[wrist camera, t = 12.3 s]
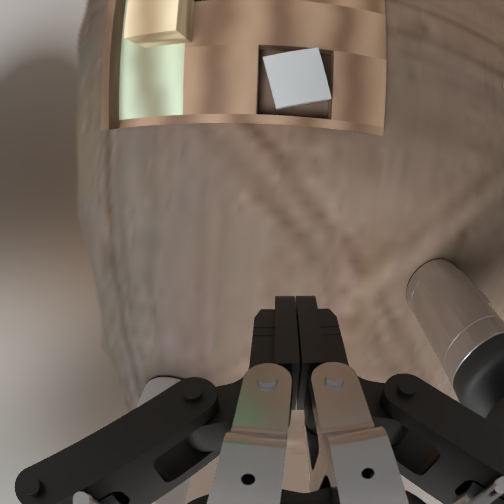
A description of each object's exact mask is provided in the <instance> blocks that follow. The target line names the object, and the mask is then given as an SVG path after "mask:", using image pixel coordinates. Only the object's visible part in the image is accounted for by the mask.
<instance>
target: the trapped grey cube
mask: <svg viewBox="0 0 504 504" xmlns="http://www.w3.org/2000/svg"><path fill="white" fill-rule="evenodd" d="M263 61H264V66H265V69H266V73H267V77H268V81H269V84H270V88H271V92H272V96H273V100H274V104H275V108H276V110H280V109H285V108H290V107H295V106H301V105H307V104H313V103H319V102H324V101H327V100H329V99H332V98H331V94H330V90H329V86H328V82H327V78H326V74H325V70H324V66H323V63H322V59H321V55H320V52H319V48H310V49H303V50H297V51H291V52H285V53H280V54H275V55H270V56H265V57H263Z"/></svg>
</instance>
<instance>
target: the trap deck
mask: <svg viewBox="0 0 504 504" xmlns="http://www.w3.org/2000/svg"><path fill="white" fill-rule="evenodd" d="M127 3H128V0H109V1H108V8H107V16H106V25H105V35H104V46H103V61H102V85H101V127H102V130H109V129H116V128H125V127H136V126H148V125H163V124H183V123H261V124H281V125H296V126H309V127H319V128H329V129H338V130H346V131H354V132H361V133H368V134H375V135H381V136H383V129H384V115H385V97H386V15H385V0H209V1H198V2H194V11H193V24H192V39H191V43H180V44H171V45H162V46H155V47H148V48H144V47H142V46H140V45H137V44H135V43H133V42H131V41H128V40H126V39H124V29H125V19H126V11H127ZM310 48H319V52H320V54H326V55H330V78H329V90H330V94H331V98H332V99H329V103H328V119H320V118H310V117H297V116H283V115H263V114H258V85H259V55H260V50H280V51H297V50H303V49H310Z"/></svg>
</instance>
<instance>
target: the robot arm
mask: <svg viewBox="0 0 504 504" xmlns="http://www.w3.org/2000/svg"><path fill="white" fill-rule="evenodd" d="M406 298H407V301H408V304H409V305H410V307H411V309H412V310H413V312H414V314H415V316H416V318H417V320H418V321H419V323H420V325H421V327H422V328H423V330H424V332H425V334H426V336H427V338H428V339H429V341H430V343H431V345H432V347H433V349H434V351H435V353H436V354H437V356H438V358H439V360H440V362H441V364H442V366H443V368H444V370H445V372H446V374H447V376H448V378H449V380H450V382H451V384H452V386H453V388H454V390H455V393H456V395H457V397H458V399H459V401H460V403H461V404H460V403H459V402H457V401H455V400H454V399H452V398H451V397H449V396H447V395H446V394H444V393H442V392H441V391H439V390H437V389H436V388H434V387H433V386H431V385H429V384H428V383H426V382H425V381H423V380H421V379H420V378H418V377H416V376H414V375H411V374H397V375H394V376H392V377H391V378H389V379H388V380H387V382H386V383H379V382H373V381H368V380H365V379H362V378H360V377H358V376H357V374H356V372H355V371H354V370H353V369H352V368H351V367H350V366H349V364H348V360H347V356H346V352H345V348H344V344H343V340H342V336H341V332H340V328H339V324H338V321H337V317H336V316H335V315H334V314H333V312H332V311H331V310H330V309H318V308H317V302H316V297H315V296H296V298H295V297H294V296H275V309H261V310H260V311H259V313H258V314H257V315H256V317H255V319H254V329H253V338H252V347H251V356H250V366H249V370H248V371H247V372H246V374H245V375H244V377H243V378H241V379H240V380H238V381H236V382H234V383H231V384H228V385H223V386H218V387H215V386H214V385H213V384H212V383H211V382H210V381H208V380H206V379H203V378H198V377H191V378H186V379H183V380H181V381H179V382H177V383H175V384H174V385H172V386H171V387H169V388H168V389H166V390H165V391H163V392H161V393H160V394H158V395H157V396H155V397H153V398H152V399H150V400H149V401H147V402H145V403H144V404H142V405H140V406H139V407H137V408H136V409H134V410H132V411H131V412H129V413H127V414H126V415H124V416H122V417H121V418H119V419H117V420H116V421H114V422H112V423H110V424H109V425H107V426H105V427H103V428H102V429H100V430H98V431H97V432H95V433H93V434H91V435H89V436H87V437H86V438H84V439H82V440H80V441H79V442H77V443H75V444H73V445H71V446H69V447H68V448H65V449H64V450H62V451H60V452H58V453H56V454H54V455H52V456H50V457H49V458H46V459H44V460H42V461H40V462H38V463H36V464H34V465H32V466H30V467H28V468H26V469H24V470H23V471H22V472H20V474H19V475H18V477H17V479H16V482H15V492H16V495H17V497H18V499H19V501H20V502H21V503H22V504H152V503H153V502H155V501H156V500H158V499H159V498H161V497H162V496H164V495H165V494H167V493H168V492H170V491H171V490H173V489H174V488H176V487H177V486H178V485H180V484H181V483H183V482H184V481H185V480H187V479H188V478H190V477H191V476H192V475H194V474H195V473H196V472H198V471H199V470H200V469H202V468H203V467H204V466H205V465H207V464H208V463H209V462H211V461H212V460H213V459H214V458H216V457H217V456H218V455H219V459H218V463H217V467H216V471H215V474H214V478H213V482H212V486H211V489H210V493H209V494H208V495H205V496H202V497H200V498H197V499H195V500H193V501H191V502H189V503H188V504H426V503H425V502H423V501H422V500H421V499H420V498H418V497H417V496H415V495H414V494H412V493H410V492H408V491H406V490H405V488H404V485H403V482H402V479H401V475H403V476H404V477H405V478H407V479H408V480H410V481H411V482H412V483H414V484H415V485H417V486H418V487H420V488H421V489H422V490H424V491H425V492H427V493H428V494H430V495H431V496H433V497H434V498H436V499H437V500H439V501H440V502H442V503H443V504H504V321H503V320H502V319H501V318H500V317H499V316H498V314H497V313H496V312H495V311H494V309H493V308H492V307H491V302H490V301H489V300H488V299H487V297H486V296H485V295H484V294H483V293H482V292H481V291H480V290H479V289H478V287H477V286H476V285H475V284H474V283H473V282H472V281H471V280H470V279H469V278H468V277H467V276H466V275H465V274H464V273H463V272H462V270H460V269H457V268H456V267H455V266H454V265H453V264H452V263H450V262H449V261H447V260H444V259H437V260H432V261H430V262H427V263H426V264H424V265H422V266H421V267H420V268H419V269H418V270H417V271H416V272H415V273H414V274H413V276H412V278H411V279H410V281H409V284H408V286H407V291H406ZM296 398H297V410H304V413H305V421H304V427H303V428H304V437H305V444H306V451H307V458H308V466H309V474H310V481H309V493H298V492H293V491H288V490H283V489H282V482H283V474H284V465H285V455H286V445H287V434H288V427H289V425H290V420H291V410H295V407H296ZM400 474H401V475H400Z"/></svg>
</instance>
